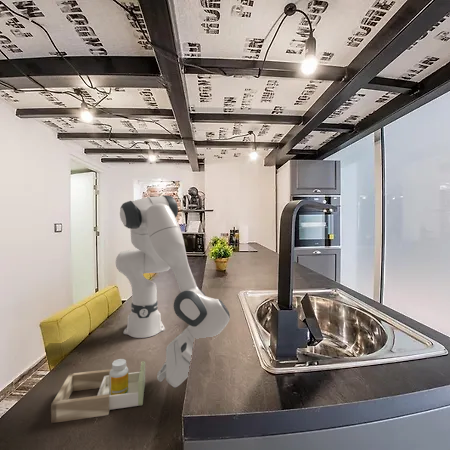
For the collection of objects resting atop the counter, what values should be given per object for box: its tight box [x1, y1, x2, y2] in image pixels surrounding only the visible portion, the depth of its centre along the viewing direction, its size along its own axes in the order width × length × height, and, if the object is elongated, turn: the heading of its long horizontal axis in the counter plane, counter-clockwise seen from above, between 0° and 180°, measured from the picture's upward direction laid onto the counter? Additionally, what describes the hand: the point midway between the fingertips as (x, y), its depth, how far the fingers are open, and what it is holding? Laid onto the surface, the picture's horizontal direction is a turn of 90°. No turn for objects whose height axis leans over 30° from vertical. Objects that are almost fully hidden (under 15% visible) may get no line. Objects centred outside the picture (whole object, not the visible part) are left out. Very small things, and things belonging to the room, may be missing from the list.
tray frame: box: [50, 368, 112, 424], centre depth 78 cm, size 14×14×5 cm
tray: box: [96, 360, 146, 411], centre depth 80 cm, size 11×12×7 cm
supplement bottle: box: [109, 358, 129, 395], centre depth 80 cm, size 5×5×10 cm
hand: (158, 377), depth 82 cm, fingers closed
